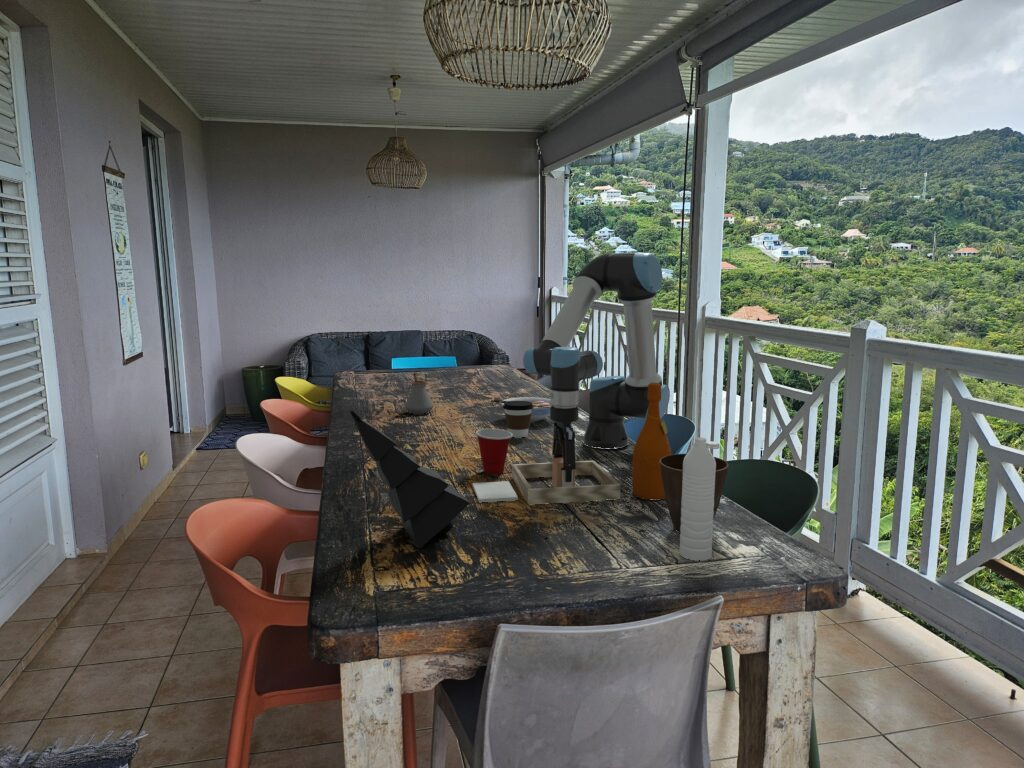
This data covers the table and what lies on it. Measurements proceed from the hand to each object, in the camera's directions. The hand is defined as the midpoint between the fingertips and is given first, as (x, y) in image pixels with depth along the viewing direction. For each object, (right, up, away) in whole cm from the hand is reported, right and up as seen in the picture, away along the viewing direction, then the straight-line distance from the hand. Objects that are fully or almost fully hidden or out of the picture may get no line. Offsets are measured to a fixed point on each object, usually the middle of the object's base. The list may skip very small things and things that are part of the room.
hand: (562, 487), depth 191 cm
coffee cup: (-12, +9, +60) cm, 62 cm away
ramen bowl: (-7, +13, +86) cm, 87 cm away
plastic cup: (-19, +2, +16) cm, 25 cm away
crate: (0, 0, 0) cm, 0 cm away
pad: (-18, -1, -4) cm, 19 cm away
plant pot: (+27, -5, -30) cm, 41 cm away
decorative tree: (-36, -6, -35) cm, 51 cm away
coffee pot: (-53, +17, +106) cm, 120 cm away
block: (0, 0, 0) cm, 0 cm away
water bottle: (+25, -8, -46) cm, 52 cm away
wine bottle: (+23, -1, -6) cm, 23 cm away
